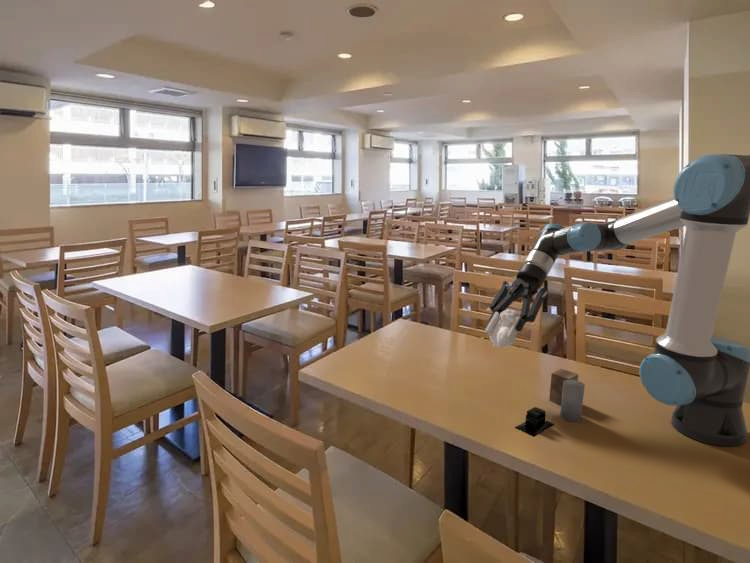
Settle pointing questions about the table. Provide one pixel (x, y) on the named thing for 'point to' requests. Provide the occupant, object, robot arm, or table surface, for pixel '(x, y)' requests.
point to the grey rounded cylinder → (572, 400)
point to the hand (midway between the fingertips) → (498, 336)
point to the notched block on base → (534, 422)
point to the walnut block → (559, 384)
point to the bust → (503, 328)
